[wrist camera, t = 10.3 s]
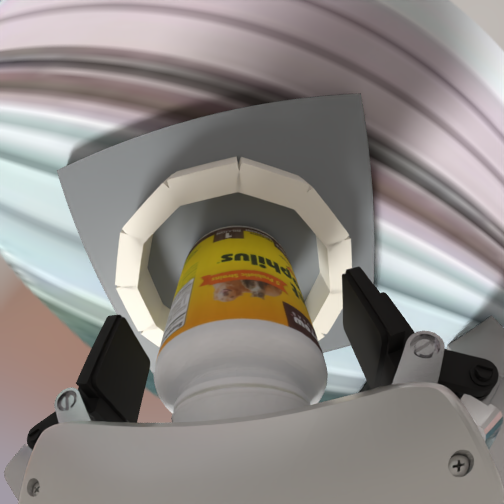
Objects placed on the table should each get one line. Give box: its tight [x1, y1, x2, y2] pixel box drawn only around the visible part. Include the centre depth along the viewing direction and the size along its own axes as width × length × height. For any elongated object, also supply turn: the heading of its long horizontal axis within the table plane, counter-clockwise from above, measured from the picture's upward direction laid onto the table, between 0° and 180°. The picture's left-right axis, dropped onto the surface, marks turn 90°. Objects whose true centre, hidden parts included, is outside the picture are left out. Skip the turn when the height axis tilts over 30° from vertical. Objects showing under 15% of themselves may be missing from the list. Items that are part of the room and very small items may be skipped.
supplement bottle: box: [154, 226, 327, 423], centre depth 10 cm, size 6×6×10 cm
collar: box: [57, 93, 374, 374], centre depth 15 cm, size 16×16×3 cm
